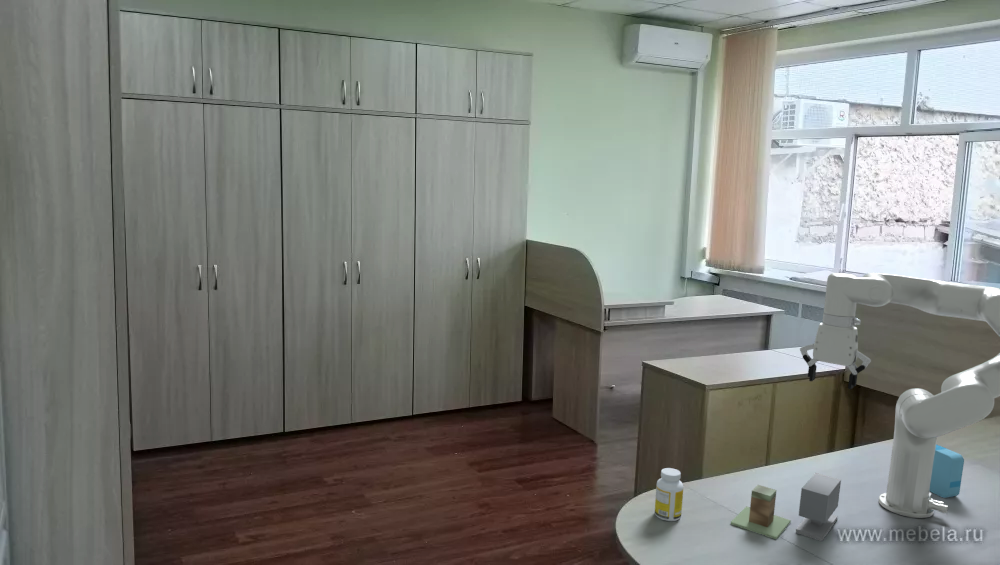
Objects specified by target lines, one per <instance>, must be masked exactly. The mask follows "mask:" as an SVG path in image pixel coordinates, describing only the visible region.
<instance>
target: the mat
mask: <svg viewBox="0 0 1000 565" xmlns="http://www.w3.org/2000/svg"><path fill="white" fill-rule="evenodd" d="M749 514H750V507H749V506H745V507H744V508H743V509H742V510H741V511H740V512H739V513H738V514H737V515H736V516H735V517H734V518H733V519H732V520H731V521H730V525H732V526H734V527H738V528H741V529H744V530H747V531H750V532H753V533H755V532H756V534H759V535H761V534H762V536H764V535H765V537H768V538H771V539H774V540H777V539H779V537H781V535H782V533H783V532H784V531H785V530H786V529H787V528H788V526H789V525H790V524H791V522H792V520H791V519H788V518H785V517H783V516H782V517H781V516H778V515H776V514H774V519H773V522H772V523H771V524H770V525H769V526H768V527H765V526H762V525H758V524H755V523H752V522H749ZM785 528H786V529H785Z"/></svg>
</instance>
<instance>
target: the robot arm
mask: <svg viewBox="0 0 1000 565" xmlns="http://www.w3.org/2000/svg"><path fill="white" fill-rule="evenodd" d="M825 289H826V290H825V297H824V307H823V313H822V314H823V315H822V322H820V323H819V325H818V328H817V331H816V335H815V339H814V343H811V344H808V345H804V346H801V347H800V348H799V351H800V354H801V355H802V359H803V360H804V362H805V363H806V365H807V366H808V369H807V377H808V378H809V380H808V381H809V382H813V381H815V380H816V376H817V375H816V373H817V365H816V363H817V362H822V363H827V364H833V365H836V366H838V365H839V366H844V367H847V368H848V369H849V371H850V374H849V378H848V383H847V384H848V385H847V389H848V390H852V389H853V388H854V387H856V386H857V380H858V374H859V373H860V372H861V373H862V371H864V370H865V369H867V367H868V365H869V364H870V363H871V362H872V359H871V358H869V356H866V355H865V354H864V353H862V352H860V351H859V350H858V349H859V348H858V347H859V343H858V342H859V336H858V335H859V332H858V328H857V327H856V326H857V325H859V326H861V322H862V320H861V319H858V318H857V317H856V313H857V312H856V311H857V304H860V305H865V306H869V307H874V308H877V307H878V308H879V307H883V306H886V305H888V304H889V303H891V304H897V305H903V306H908V307H912V308H914V309H918V310H920V311H922V312H925V313H928V314H931V315H935V316H940V317H941V316H942V317H950V318H951V317H952V318H957V319H958V318H959V319H967V320H974V321H980V322H986V323H987V324H988V326H990V328H991V329H992V330H993V331H994V332H995V333H996V335H997V336H998V337H999V338H1000V288H999V287H996V286H995V287H994V286H987V285H986V286H985V285H978V284H968V283H961V282H960V283H959V282H952V281H943V280H937V279H929V278H928V279H927V278H919V277H913V276H906V275H900V274H899V275H898V274H891V273H890V274H889V273H883V272H882V273H881V272H880V273H879V272H870V273H866V274H864V275H863V276H861V277H858V276H857V275H855V274H853V273H852V274H851V273H844V272H833V273H830V274H829V275H828V276H827V280H826V288H825ZM811 350H812V357H811V355H809V353H808V351H811ZM858 359H860V360H861V361H862V363H861V365H859V366H857V364H856V362H857V360H858ZM940 391H941V392H939V393H937V394H933V393H931V392H930V391H929V390H926V389H923V388H918V387H917V388H915V387H914V388H910V389H906V390H905V391H903V393H901V394H900V395H899V397H898V399H897V400H896V405H895V417H894V432H893V441H892V447H891V448H892V449H891V455H890V463H889V471H888V476H887V477H888V478H887V485H886V492H884V493H882V494H881V493H880V495H879V496H878V503H879V504H880V505H881V506H882V507H883V508H885V509H886V510H887V511H889V512H892V513H894V514H897V515H900V516H904V517H907V518H914V519H924V518H929V517H933V515H934V512H935V511H938V512H940V513H944V514H947V513H948V510H949V506H948V505H946V504H944V501H941V500H936V499H934V498H932V492H930V491H929V489H930V482H931V475H932V468H933V461H934V455H935V449H936V444H937V438H938V437H942V436H944V435H947V434H950V433H952V432H955V431H958V430H960V429H963V428H967V427H968V426H972V425H973V424H975V423H976V424H977V423H978V422H980V421H982V420H984V419H985V418H986V417H988V416H989V415H990V414H991V412H992V411H993V409H994V407H995V399H996V398H999V397H1000V352H999V353H998V354H996V356H994V357H992V358H990V359H989V360H986V361H985V362H983V363H981V364H980V363H979V364H977V365H975V366H973V367H970V368H968V369H965V370H963V371H961V372H957V373H955V374H952V375H950V376H949V377H946V378H945V380H943V382H942V384H941V387H940Z"/></svg>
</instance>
